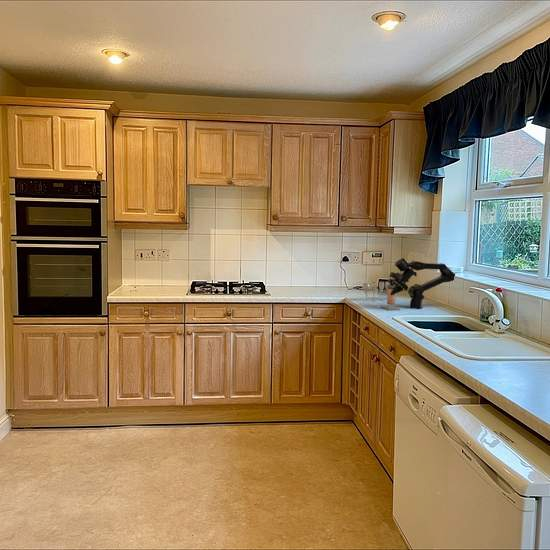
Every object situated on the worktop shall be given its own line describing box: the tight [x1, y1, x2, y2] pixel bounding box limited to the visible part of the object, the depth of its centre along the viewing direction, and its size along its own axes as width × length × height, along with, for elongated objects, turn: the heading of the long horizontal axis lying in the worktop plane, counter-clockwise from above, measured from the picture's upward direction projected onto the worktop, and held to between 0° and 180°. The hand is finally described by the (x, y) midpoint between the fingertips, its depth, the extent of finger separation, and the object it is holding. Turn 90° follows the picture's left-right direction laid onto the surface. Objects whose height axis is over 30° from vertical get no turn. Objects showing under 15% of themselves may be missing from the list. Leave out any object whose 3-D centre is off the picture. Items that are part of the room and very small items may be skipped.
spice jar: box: [386, 285, 395, 306], centre depth 333 cm, size 5×5×12 cm
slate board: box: [380, 305, 401, 311], centre depth 334 cm, size 8×12×1 cm, turn 13°
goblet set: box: [362, 281, 397, 302], centre depth 365 cm, size 28×6×13 cm, turn 106°
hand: (388, 294), depth 332 cm, fingers closed on spice jar, 5 cm apart
